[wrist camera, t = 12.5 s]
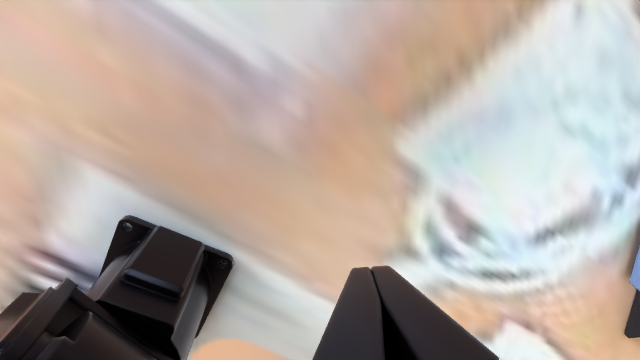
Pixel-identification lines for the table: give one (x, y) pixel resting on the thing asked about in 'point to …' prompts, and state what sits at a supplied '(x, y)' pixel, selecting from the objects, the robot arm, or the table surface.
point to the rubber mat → (634, 319)
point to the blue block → (636, 272)
